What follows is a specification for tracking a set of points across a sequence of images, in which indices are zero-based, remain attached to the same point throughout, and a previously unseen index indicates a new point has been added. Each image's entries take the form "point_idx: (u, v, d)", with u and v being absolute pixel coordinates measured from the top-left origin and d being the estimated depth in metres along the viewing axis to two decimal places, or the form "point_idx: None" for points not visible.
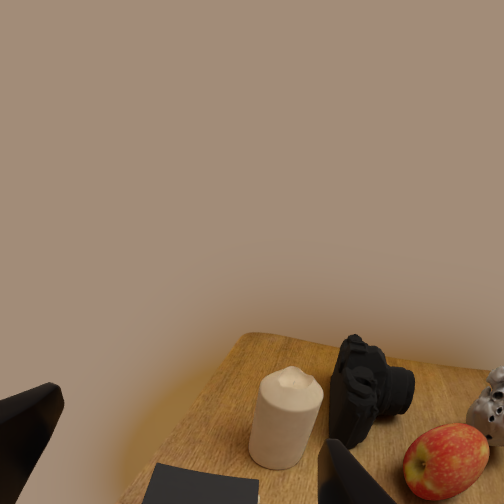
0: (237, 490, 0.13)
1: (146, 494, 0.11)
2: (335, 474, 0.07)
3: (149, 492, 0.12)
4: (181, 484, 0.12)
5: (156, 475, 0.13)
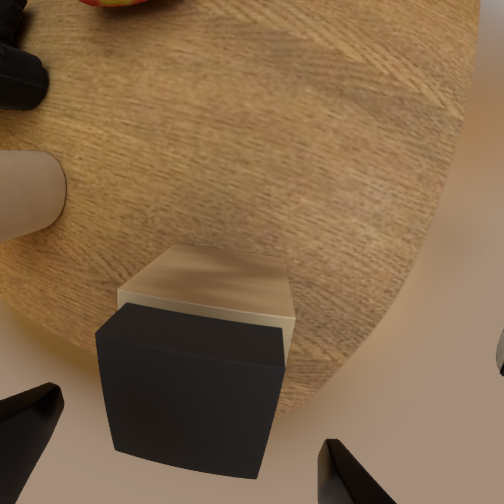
0: (124, 370, 0.08)
1: (172, 465, 0.10)
2: (335, 474, 0.07)
3: (167, 462, 0.10)
4: (138, 433, 0.09)
5: (136, 453, 0.09)
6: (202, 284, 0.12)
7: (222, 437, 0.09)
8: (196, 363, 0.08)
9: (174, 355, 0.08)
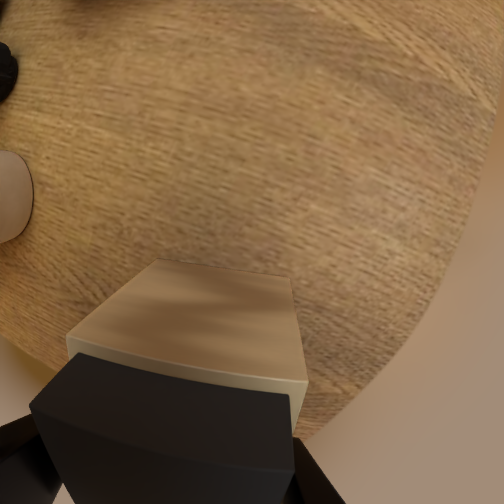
0: (72, 452, 0.05)
1: None
2: None
3: None
4: None
5: None
6: (180, 325, 0.09)
7: None
8: (164, 462, 0.05)
9: (131, 449, 0.05)
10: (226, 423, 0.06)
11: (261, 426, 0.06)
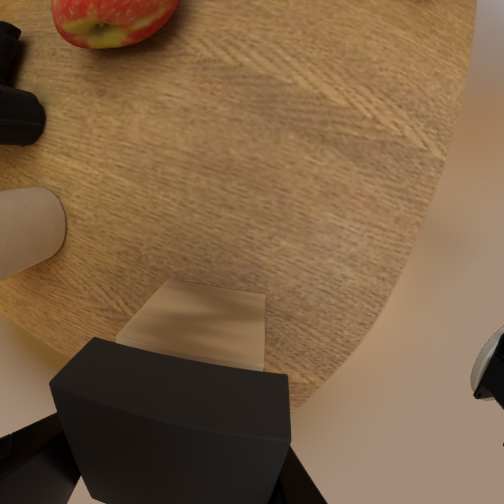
0: (88, 427, 0.06)
1: None
2: None
3: None
4: (113, 488, 0.07)
5: None
6: (187, 329, 0.14)
7: (212, 502, 0.06)
8: (174, 431, 0.06)
9: (144, 420, 0.06)
10: (230, 398, 0.07)
11: (261, 401, 0.07)
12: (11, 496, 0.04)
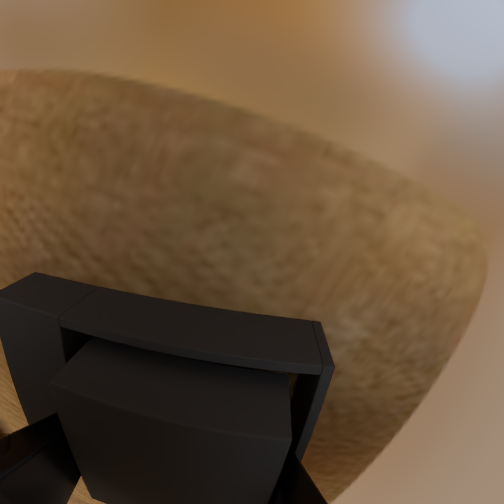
0: (88, 426, 0.06)
1: None
2: None
3: None
4: (113, 487, 0.07)
5: None
6: None
7: (212, 502, 0.06)
8: (174, 431, 0.06)
9: (144, 419, 0.06)
10: (230, 397, 0.07)
11: (262, 400, 0.07)
12: (11, 495, 0.04)
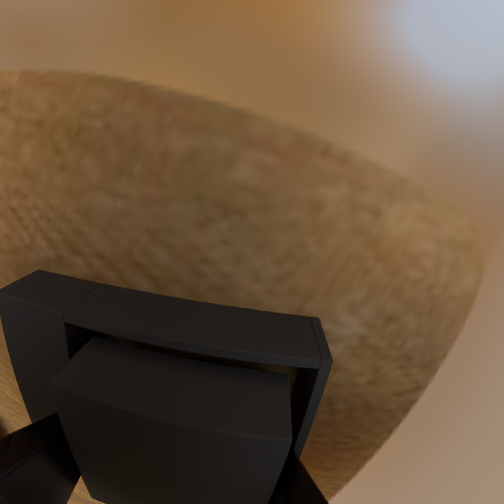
0: (88, 427, 0.06)
1: None
2: None
3: None
4: (113, 488, 0.07)
5: None
6: None
7: (212, 502, 0.06)
8: (174, 431, 0.06)
9: (144, 419, 0.06)
10: (231, 397, 0.07)
11: (262, 400, 0.07)
12: (11, 495, 0.04)
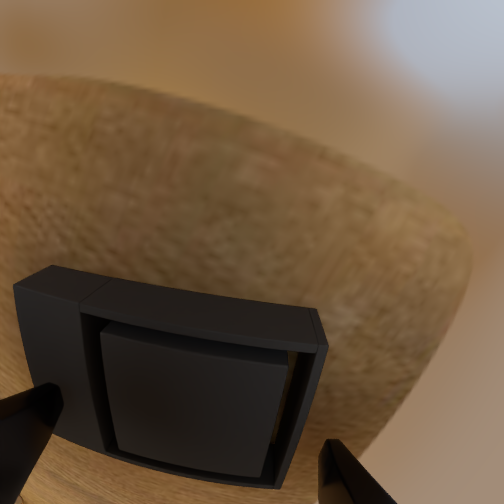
0: (129, 369, 0.09)
1: (176, 464, 0.10)
2: (336, 474, 0.07)
3: (171, 461, 0.10)
4: (142, 432, 0.09)
5: (140, 452, 0.10)
6: None
7: (226, 435, 0.09)
8: (201, 362, 0.08)
9: (178, 354, 0.08)
10: None
11: None
12: None
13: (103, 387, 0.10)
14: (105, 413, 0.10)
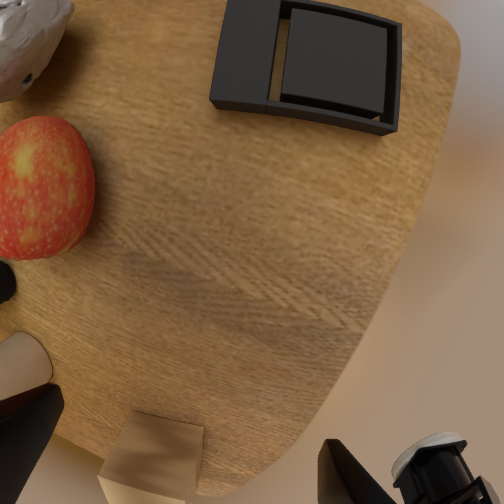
0: (307, 24, 0.14)
1: (326, 99, 0.15)
2: (335, 474, 0.07)
3: (323, 96, 0.15)
4: (306, 68, 0.14)
5: (299, 91, 0.15)
6: (141, 469, 0.17)
7: (361, 68, 0.14)
8: (347, 21, 0.13)
9: (336, 17, 0.13)
10: None
11: None
12: None
13: (273, 56, 0.15)
14: None
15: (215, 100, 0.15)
